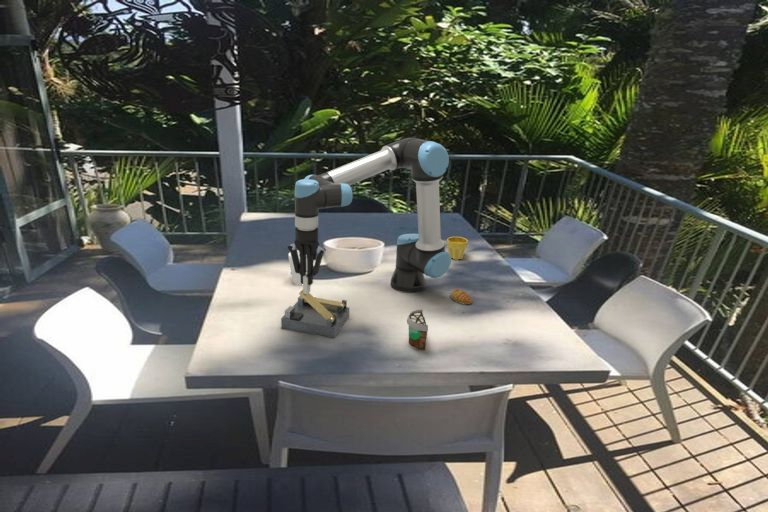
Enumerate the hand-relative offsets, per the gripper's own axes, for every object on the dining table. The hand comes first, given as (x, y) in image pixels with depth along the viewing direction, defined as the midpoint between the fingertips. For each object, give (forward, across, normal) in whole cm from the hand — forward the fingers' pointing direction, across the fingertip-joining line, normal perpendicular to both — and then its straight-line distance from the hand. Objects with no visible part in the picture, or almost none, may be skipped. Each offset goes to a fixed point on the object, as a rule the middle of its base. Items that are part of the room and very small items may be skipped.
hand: (306, 292), depth 167 cm
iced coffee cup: (+14, -38, -4) cm, 41 cm away
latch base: (+14, -1, -6) cm, 16 cm away
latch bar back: (+9, -2, -11) cm, 15 cm away
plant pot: (+14, -42, -92) cm, 102 cm away
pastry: (+14, -50, -44) cm, 68 cm away
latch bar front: (+5, -3, 0) cm, 6 cm away
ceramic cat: (+15, +29, -70) cm, 77 cm away
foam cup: (+15, +19, -37) cm, 44 cm away
